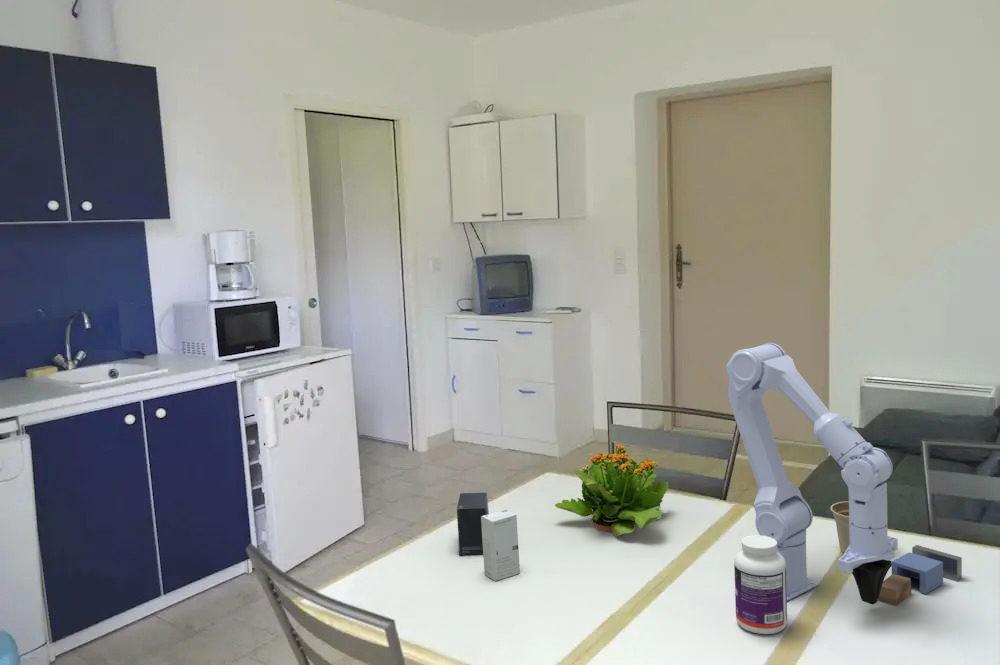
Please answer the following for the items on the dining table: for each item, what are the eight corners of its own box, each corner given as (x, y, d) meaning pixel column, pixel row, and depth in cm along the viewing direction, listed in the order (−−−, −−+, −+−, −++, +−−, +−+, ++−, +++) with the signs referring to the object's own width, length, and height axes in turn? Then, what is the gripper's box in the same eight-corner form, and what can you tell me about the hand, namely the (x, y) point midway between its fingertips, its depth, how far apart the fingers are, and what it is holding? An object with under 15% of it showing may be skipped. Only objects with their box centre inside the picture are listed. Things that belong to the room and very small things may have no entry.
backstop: (957, 581, 140) (957, 560, 140) (912, 567, 147) (912, 547, 146) (961, 578, 141) (961, 557, 141) (916, 565, 148) (916, 544, 147)
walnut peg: (896, 607, 133) (896, 590, 133) (878, 602, 135) (878, 585, 135) (910, 595, 137) (910, 578, 137) (893, 590, 139) (892, 573, 139)
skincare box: (495, 582, 152) (491, 522, 151) (483, 574, 156) (479, 516, 155) (521, 573, 156) (517, 514, 154) (509, 566, 160) (505, 508, 158)
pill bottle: (747, 609, 135) (745, 528, 134) (794, 621, 130) (792, 537, 128) (728, 628, 129) (725, 544, 127) (776, 642, 124) (774, 554, 122)
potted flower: (546, 540, 172) (541, 462, 170) (568, 504, 194) (564, 435, 192) (662, 546, 164) (658, 465, 162) (671, 508, 187) (668, 436, 185)
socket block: (925, 593, 136) (925, 571, 136) (891, 582, 141) (891, 561, 141) (943, 583, 139) (943, 562, 139) (909, 573, 144) (909, 552, 144)
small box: (489, 554, 166) (486, 507, 165) (458, 556, 166) (455, 508, 165) (491, 536, 177) (487, 490, 175) (462, 537, 177) (458, 492, 176)
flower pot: (877, 564, 149) (876, 520, 148) (825, 555, 155) (824, 512, 154) (888, 547, 157) (887, 505, 156) (838, 538, 162) (837, 498, 161)
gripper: (866, 541, 122) (868, 624, 124) (915, 517, 131) (916, 595, 132) (825, 529, 128) (827, 609, 130) (874, 507, 136) (875, 582, 138)
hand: (869, 601), depth 131 cm, fingers closed
